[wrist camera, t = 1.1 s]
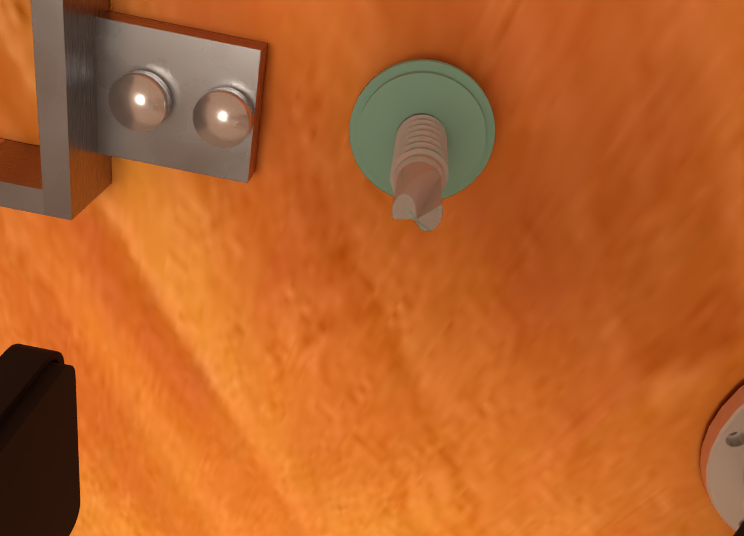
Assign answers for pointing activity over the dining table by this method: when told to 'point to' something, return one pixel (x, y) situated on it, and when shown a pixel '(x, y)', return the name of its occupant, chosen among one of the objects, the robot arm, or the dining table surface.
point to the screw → (422, 136)
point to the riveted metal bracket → (130, 104)
